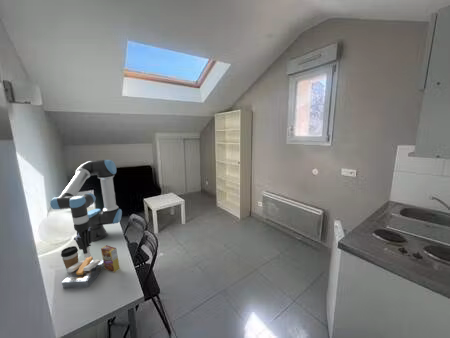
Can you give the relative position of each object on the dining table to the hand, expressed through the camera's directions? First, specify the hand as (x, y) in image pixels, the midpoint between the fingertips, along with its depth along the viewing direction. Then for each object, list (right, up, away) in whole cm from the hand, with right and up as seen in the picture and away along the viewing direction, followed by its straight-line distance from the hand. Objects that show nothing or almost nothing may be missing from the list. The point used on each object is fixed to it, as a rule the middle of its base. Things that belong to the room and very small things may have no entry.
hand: (87, 256), depth 120 cm
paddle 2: (+5, -4, -3) cm, 7 cm away
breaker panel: (0, -11, -2) cm, 11 cm away
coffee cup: (-12, -10, +4) cm, 16 cm away
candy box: (+13, -10, +4) cm, 17 cm away
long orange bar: (0, -4, -3) cm, 5 cm away
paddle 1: (-4, -4, -3) cm, 7 cm away
